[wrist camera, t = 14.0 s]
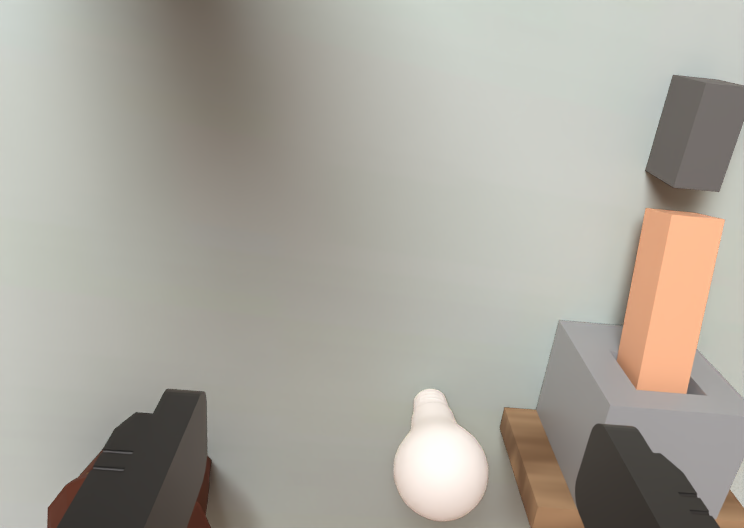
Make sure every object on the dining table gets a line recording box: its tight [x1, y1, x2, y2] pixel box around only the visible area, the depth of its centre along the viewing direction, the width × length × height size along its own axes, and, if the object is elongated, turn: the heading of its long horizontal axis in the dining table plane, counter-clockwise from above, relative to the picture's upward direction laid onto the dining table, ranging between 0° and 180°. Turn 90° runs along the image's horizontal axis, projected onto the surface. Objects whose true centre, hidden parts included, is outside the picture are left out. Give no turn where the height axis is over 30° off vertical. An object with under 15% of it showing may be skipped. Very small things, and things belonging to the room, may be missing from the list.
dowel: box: [617, 208, 725, 394], centre depth 38 cm, size 16×3×3 cm, turn 174°
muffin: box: [47, 450, 211, 528], centre depth 44 cm, size 12×11×10 cm
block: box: [536, 320, 744, 519], centre depth 41 cm, size 8×9×10 cm
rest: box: [645, 75, 744, 192], centre depth 36 cm, size 6×3×4 cm, turn 174°
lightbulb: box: [393, 389, 488, 521], centre depth 41 cm, size 6×6×11 cm
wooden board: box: [500, 407, 744, 528], centre depth 43 cm, size 2×14×10 cm, turn 85°
